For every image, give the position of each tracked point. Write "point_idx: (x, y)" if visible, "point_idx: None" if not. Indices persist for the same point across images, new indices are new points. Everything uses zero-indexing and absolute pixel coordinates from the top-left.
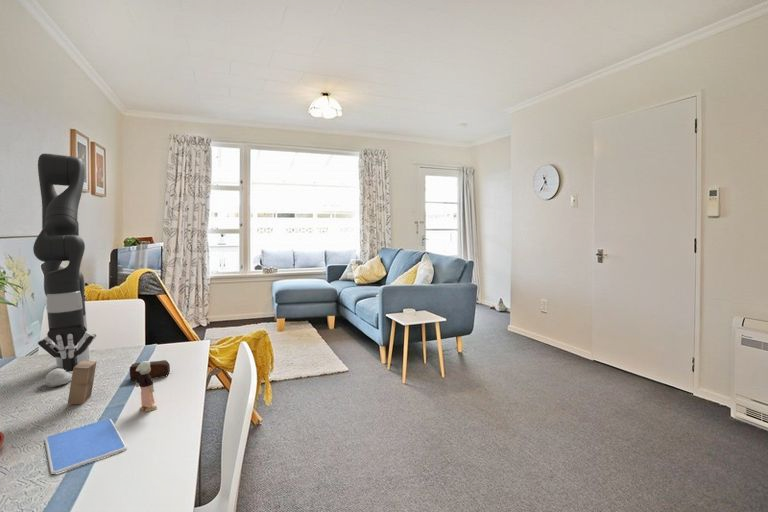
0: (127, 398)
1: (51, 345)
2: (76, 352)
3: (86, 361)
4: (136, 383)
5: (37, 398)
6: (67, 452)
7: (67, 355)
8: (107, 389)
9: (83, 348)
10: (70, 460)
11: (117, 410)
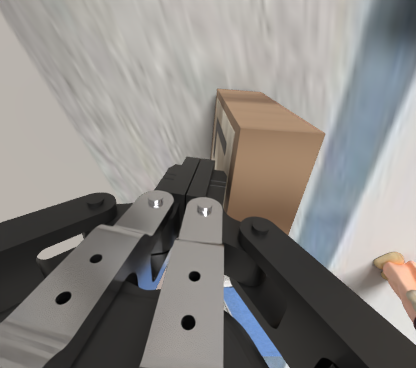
0: (363, 182)
1: (1, 288)
2: (231, 281)
3: (268, 144)
4: (413, 308)
5: (84, 17)
6: (258, 334)
7: (173, 242)
8: (314, 47)
9: (282, 315)
10: (265, 348)
11: (328, 241)
